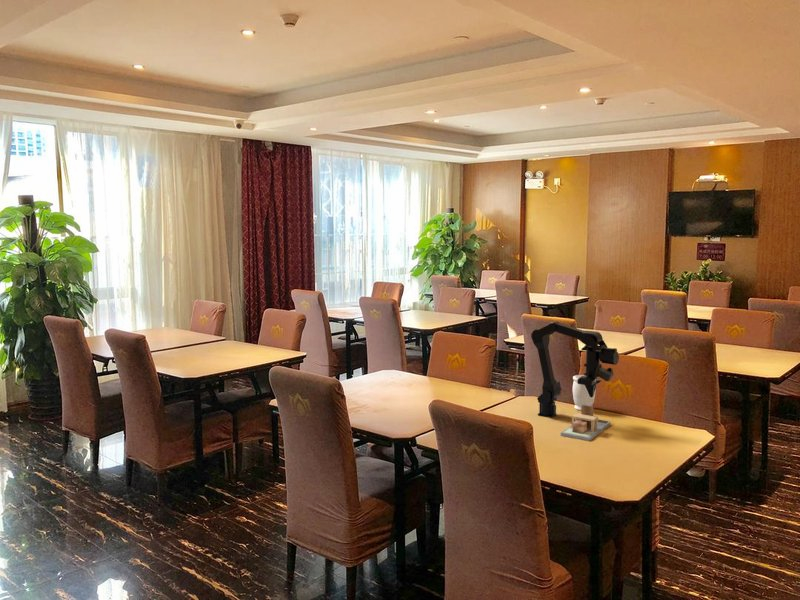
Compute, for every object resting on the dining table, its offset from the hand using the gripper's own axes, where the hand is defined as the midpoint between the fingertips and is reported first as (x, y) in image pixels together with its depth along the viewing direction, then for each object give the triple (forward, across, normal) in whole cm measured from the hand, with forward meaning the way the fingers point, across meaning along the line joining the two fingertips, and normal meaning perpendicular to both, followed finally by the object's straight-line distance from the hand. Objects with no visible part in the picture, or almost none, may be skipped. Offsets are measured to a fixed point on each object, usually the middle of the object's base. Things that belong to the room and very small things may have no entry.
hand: (591, 397), depth 279 cm
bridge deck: (+12, -9, -2) cm, 15 cm away
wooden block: (+10, -13, -2) cm, 17 cm away
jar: (+12, +20, +11) cm, 26 cm away
